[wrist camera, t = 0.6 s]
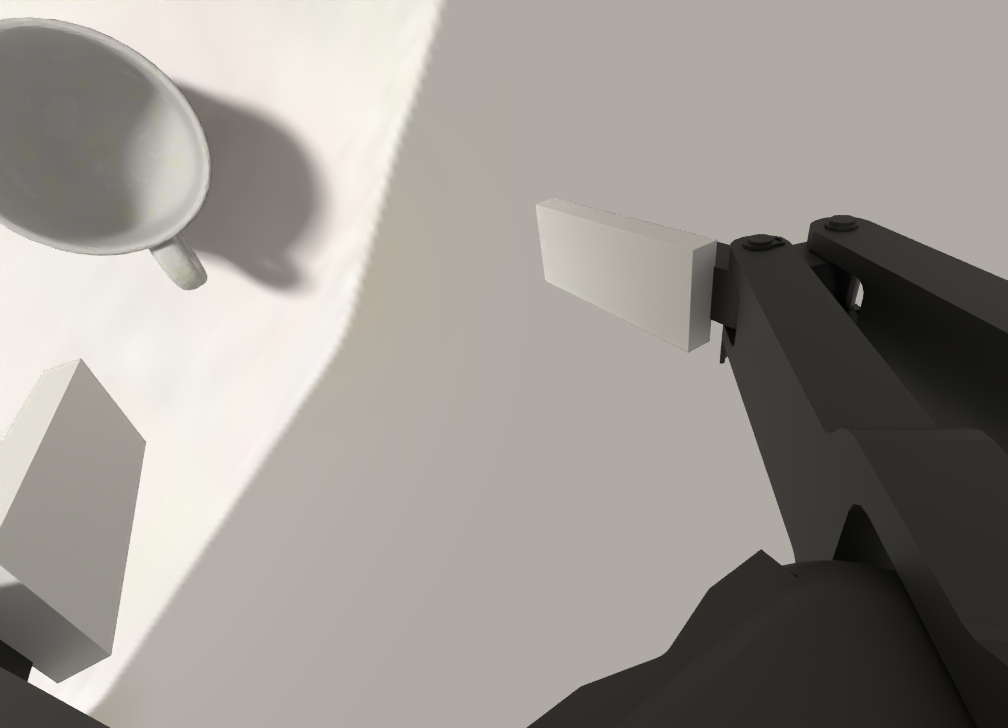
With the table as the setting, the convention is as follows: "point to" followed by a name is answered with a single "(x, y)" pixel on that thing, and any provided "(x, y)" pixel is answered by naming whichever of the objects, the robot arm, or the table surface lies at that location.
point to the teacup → (97, 147)
